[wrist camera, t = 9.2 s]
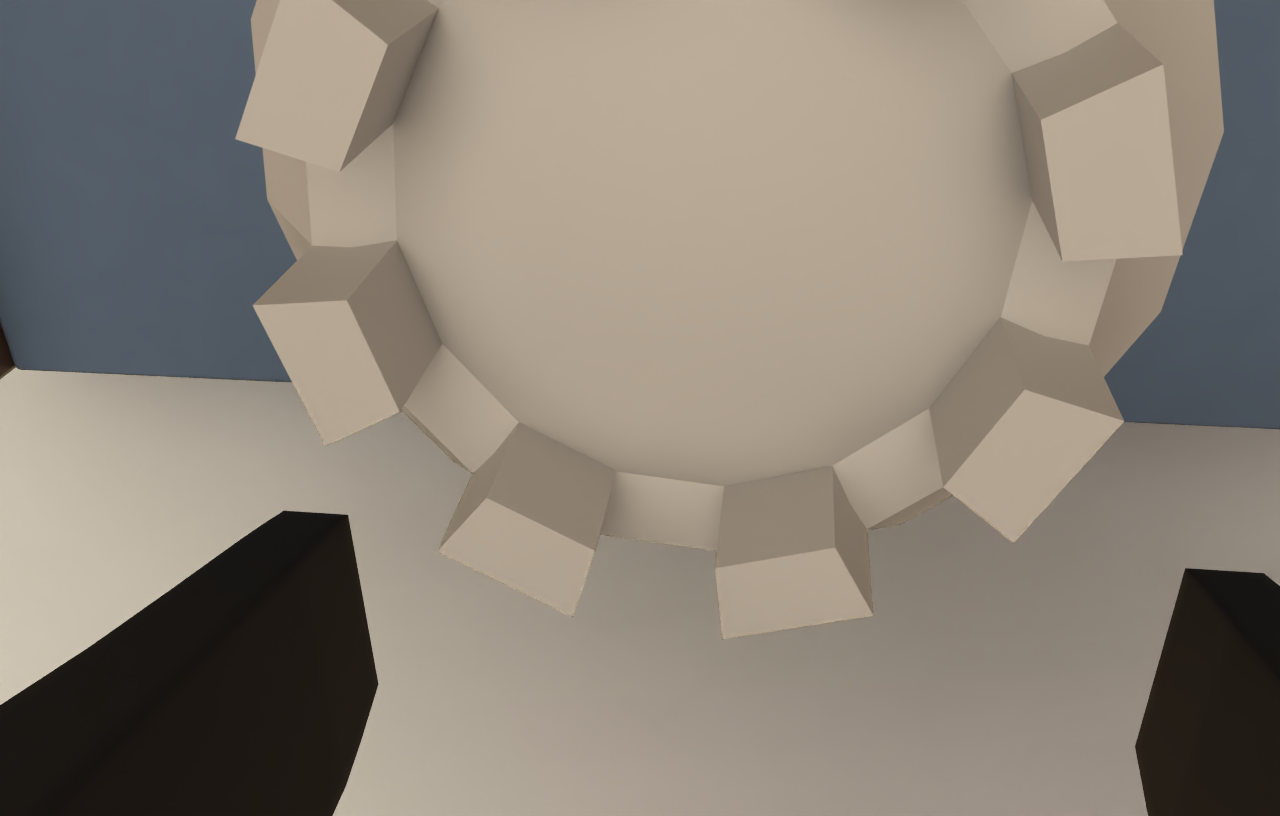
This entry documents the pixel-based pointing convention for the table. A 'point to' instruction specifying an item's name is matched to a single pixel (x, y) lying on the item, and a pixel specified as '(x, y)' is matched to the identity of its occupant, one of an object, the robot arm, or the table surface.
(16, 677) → the table surface
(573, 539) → the rook chess piece
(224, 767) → the robot arm
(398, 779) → the table surface
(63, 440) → the table surface
